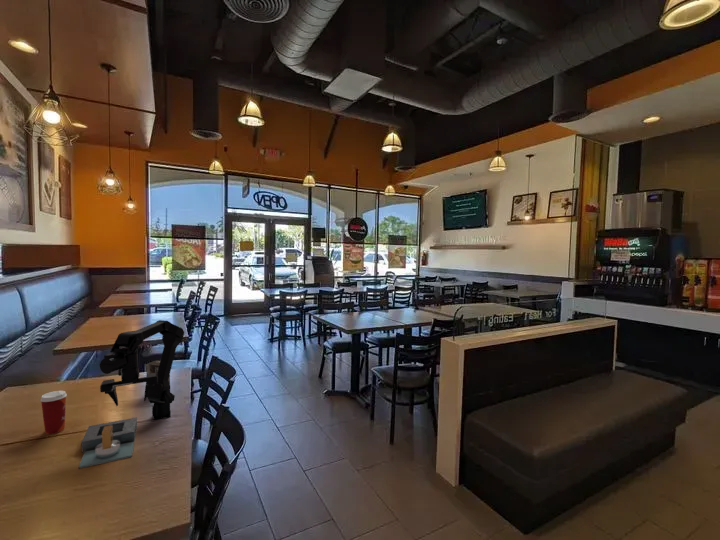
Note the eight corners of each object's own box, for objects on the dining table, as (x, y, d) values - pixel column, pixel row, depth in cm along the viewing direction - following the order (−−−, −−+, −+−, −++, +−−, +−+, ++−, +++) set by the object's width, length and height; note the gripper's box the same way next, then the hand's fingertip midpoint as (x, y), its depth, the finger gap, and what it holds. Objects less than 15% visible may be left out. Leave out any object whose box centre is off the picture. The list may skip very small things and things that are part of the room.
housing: (137, 426, 148) (136, 417, 147) (134, 441, 136) (134, 431, 136) (89, 435, 140) (88, 426, 140) (82, 452, 129) (81, 441, 128)
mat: (134, 443, 135) (134, 441, 135) (131, 456, 127) (131, 455, 126) (84, 453, 128) (84, 451, 128) (78, 468, 119) (78, 466, 119)
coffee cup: (72, 428, 146) (71, 392, 145) (48, 437, 139) (46, 399, 138) (61, 423, 150) (59, 388, 149) (36, 432, 142) (35, 395, 141)
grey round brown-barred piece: (121, 445, 132) (120, 422, 132) (118, 455, 126) (118, 431, 125) (97, 450, 129) (96, 426, 128) (93, 461, 123) (92, 435, 122)
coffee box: (170, 392, 183) (170, 361, 182) (160, 397, 177) (159, 365, 176) (157, 390, 186) (156, 359, 185) (146, 394, 180) (145, 363, 179)
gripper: (157, 355, 151) (158, 391, 152) (103, 362, 142) (105, 400, 144) (156, 363, 141) (158, 401, 143) (98, 371, 133) (101, 411, 134)
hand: (131, 403), depth 141 cm, fingers open, 9 cm apart
